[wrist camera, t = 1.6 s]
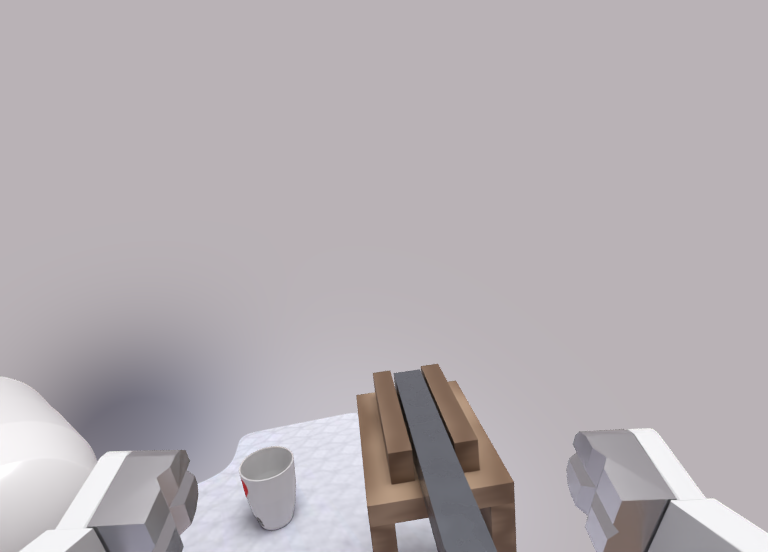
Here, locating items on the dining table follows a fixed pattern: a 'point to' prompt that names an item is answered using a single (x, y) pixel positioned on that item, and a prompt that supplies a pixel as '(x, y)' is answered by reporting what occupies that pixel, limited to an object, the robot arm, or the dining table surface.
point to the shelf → (397, 470)
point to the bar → (440, 472)
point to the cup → (270, 485)
